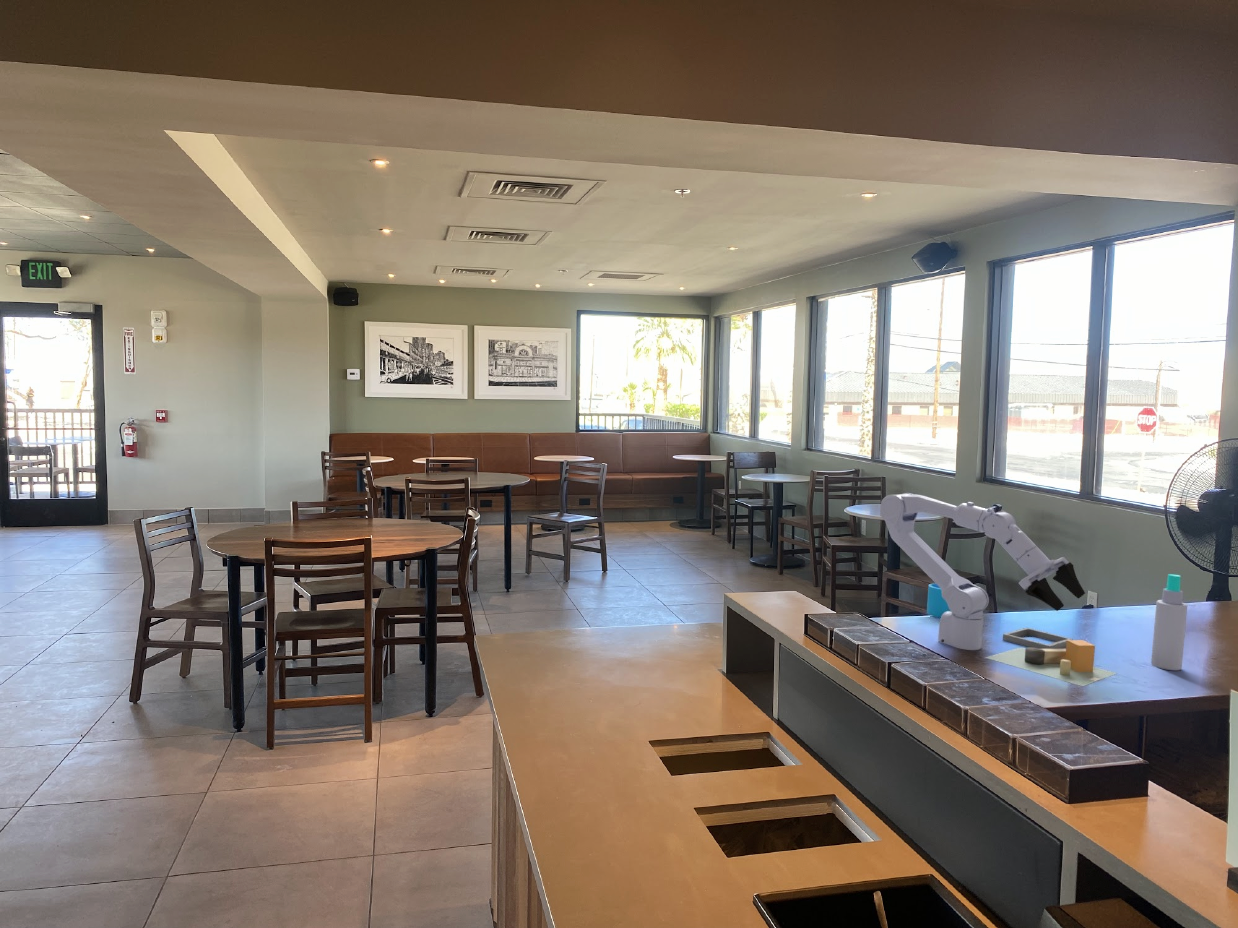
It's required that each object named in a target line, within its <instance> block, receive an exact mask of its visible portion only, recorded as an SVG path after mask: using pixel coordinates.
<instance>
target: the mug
mask: <svg viewBox="0 0 1238 928" xmlns="http://www.w3.org/2000/svg"><path fill="white" fill-rule="evenodd" d="M927 590H928V591H927V605H926V614H928V615H929V616H931V617H935V618H940V617H941V616H942V614H943V613H944V612H946V611H951V610H950V609H949V607H948V604H947V602H946V601H945V599H944V598H943V597H942V590H941V588H940V587H939V586H938V585H937V584H936V583H930V584H928V588H927Z"/></svg>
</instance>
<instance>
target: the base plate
mask: <svg viewBox="0 0 1238 928" xmlns="http://www.w3.org/2000/svg"><path fill="white" fill-rule="evenodd" d="M1025 649H1026V647H1021V646H1020V647H1017V648H1013V649H1009V650H1006V651H1002V652H999V653H996V654H992V655H989V656H985V657H984V659H987V660H990V661H995V662H997V663H1001V664H1005V665H1008V666H1012V667H1015V668H1019V669H1021V670H1025V671H1029V672H1032V673H1036V674H1039V675H1043V676H1046V677H1049V678H1052V679H1056V680H1060V681H1062V682H1066V683H1070V684H1073V685H1076V686H1080V687H1085V686H1087V685H1090V684H1093V683H1096V682H1099V681H1102V680H1104V679H1107V678H1109V677H1112V676H1114V675H1117V674H1118V672H1113V671H1109V670H1106V669H1102V668H1099V667H1095V666H1093V672H1076V671H1074V670H1072V669H1070V668H1071V661H1069V660H1064V659H1062V660H1061V663H1044V664H1042V665H1036V664H1030V663H1027V662H1025Z"/></svg>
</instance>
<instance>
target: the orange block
mask: <svg viewBox="0 0 1238 928" xmlns="http://www.w3.org/2000/svg"><path fill="white" fill-rule="evenodd" d="M1065 649H1066V656H1065V660H1069V661H1071V668H1070V669H1072V670H1074V671H1076V672H1093V667H1094V662H1095V661H1094V660H1095V652H1096V651H1095V649H1096V645H1095V644H1093V643H1090V642H1088V641H1085V640H1084V639H1080V640H1079V639H1073V640H1067V644H1066V647H1065Z"/></svg>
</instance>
